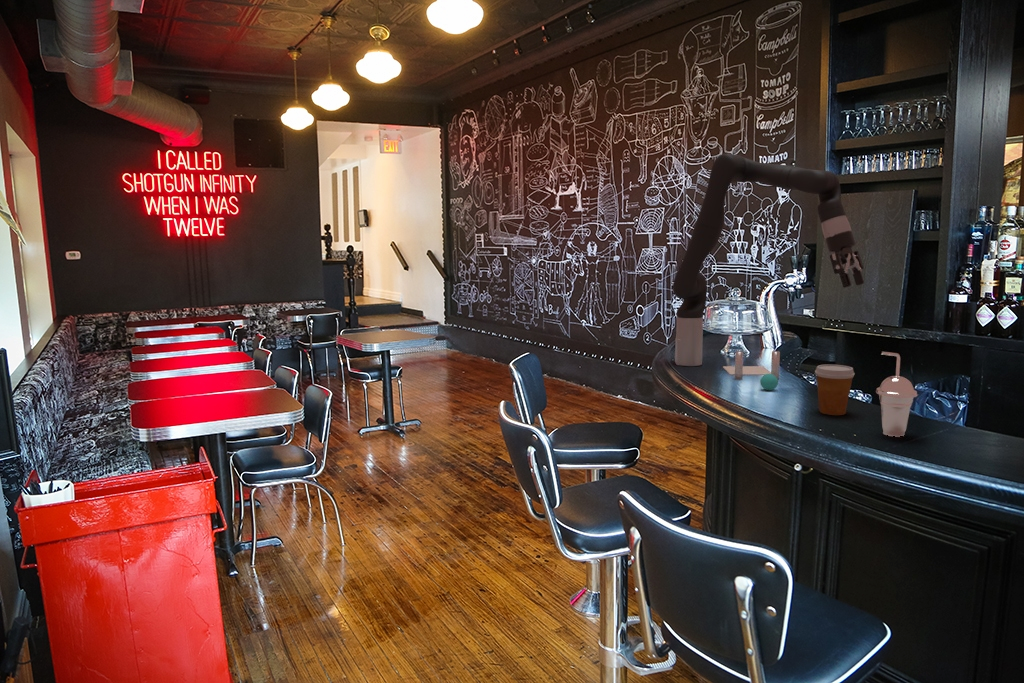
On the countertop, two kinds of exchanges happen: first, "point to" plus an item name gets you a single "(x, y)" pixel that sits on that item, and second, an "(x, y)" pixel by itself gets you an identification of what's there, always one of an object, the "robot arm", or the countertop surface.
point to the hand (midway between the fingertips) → (854, 285)
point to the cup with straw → (895, 401)
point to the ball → (769, 382)
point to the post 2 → (775, 363)
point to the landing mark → (748, 370)
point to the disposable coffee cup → (833, 388)
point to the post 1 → (738, 365)
